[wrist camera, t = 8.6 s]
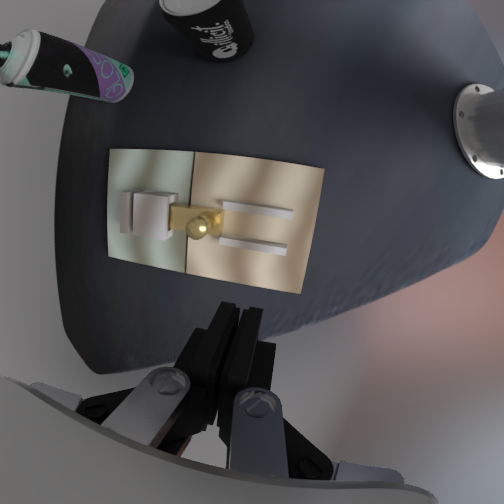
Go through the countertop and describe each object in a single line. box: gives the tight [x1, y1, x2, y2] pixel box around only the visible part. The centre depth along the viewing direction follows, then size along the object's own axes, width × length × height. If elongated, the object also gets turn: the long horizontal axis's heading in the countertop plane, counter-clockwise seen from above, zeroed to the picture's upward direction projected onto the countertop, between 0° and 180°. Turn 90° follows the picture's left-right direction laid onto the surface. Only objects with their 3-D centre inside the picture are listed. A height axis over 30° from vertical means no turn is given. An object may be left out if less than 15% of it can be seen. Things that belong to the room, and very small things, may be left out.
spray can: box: [0, 29, 134, 103], centre depth 18 cm, size 6×6×20 cm
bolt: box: [168, 203, 225, 240], centre depth 27 cm, size 10×2×5 cm, turn 82°
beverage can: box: [159, 0, 254, 62], centre depth 19 cm, size 7×7×12 cm
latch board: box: [107, 149, 324, 294], centre depth 29 cm, size 25×14×5 cm, turn 82°
